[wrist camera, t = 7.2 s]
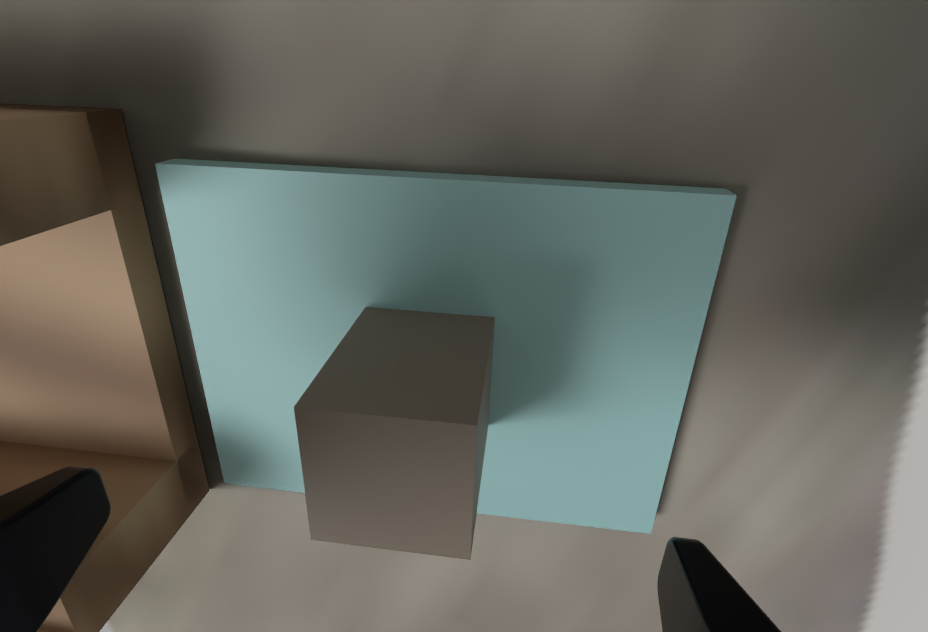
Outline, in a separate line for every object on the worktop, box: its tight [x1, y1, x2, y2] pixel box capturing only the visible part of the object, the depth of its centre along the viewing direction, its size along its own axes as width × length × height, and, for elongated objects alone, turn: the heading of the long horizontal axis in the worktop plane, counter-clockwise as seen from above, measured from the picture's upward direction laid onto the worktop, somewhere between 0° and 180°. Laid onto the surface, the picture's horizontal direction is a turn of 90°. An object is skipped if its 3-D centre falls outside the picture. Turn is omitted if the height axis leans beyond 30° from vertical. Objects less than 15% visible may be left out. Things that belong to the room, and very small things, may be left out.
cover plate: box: [155, 159, 737, 560], centre depth 11 cm, size 9×12×5 cm
